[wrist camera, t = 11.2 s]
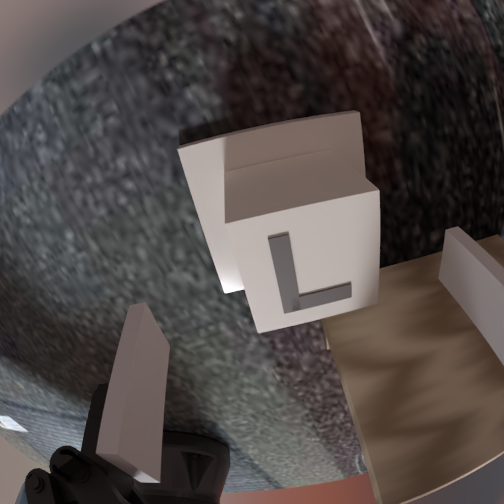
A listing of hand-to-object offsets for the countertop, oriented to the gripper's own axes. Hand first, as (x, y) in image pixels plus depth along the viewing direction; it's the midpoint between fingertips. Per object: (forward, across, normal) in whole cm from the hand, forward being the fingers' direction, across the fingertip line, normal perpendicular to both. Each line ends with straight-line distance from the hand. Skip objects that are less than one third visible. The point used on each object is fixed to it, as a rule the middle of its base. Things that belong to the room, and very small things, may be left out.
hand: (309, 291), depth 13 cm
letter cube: (+7, 0, 0) cm, 7 cm away
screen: (+8, -10, +9) cm, 16 cm away
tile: (+8, 0, 0) cm, 8 cm away
